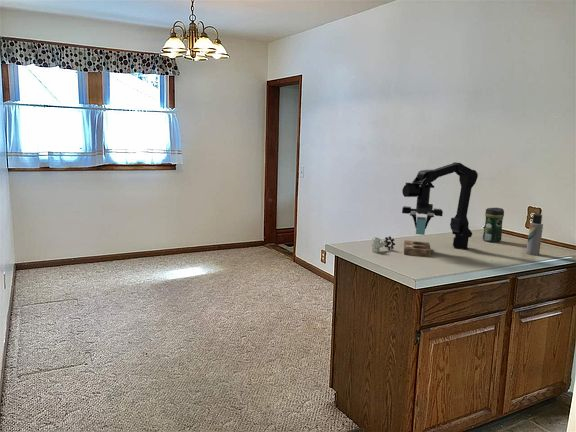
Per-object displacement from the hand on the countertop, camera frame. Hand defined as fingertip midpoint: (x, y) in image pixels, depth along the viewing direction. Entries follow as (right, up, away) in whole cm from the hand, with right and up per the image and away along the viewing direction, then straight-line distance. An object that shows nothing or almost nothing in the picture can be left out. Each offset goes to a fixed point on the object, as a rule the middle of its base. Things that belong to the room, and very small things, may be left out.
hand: (420, 228), depth 233 cm
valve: (-20, -11, -4) cm, 23 cm away
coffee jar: (+48, -8, +31) cm, 57 cm away
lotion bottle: (+56, -13, +3) cm, 58 cm away
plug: (0, -3, 0) cm, 2 cm away
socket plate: (-3, -11, -2) cm, 11 cm away
